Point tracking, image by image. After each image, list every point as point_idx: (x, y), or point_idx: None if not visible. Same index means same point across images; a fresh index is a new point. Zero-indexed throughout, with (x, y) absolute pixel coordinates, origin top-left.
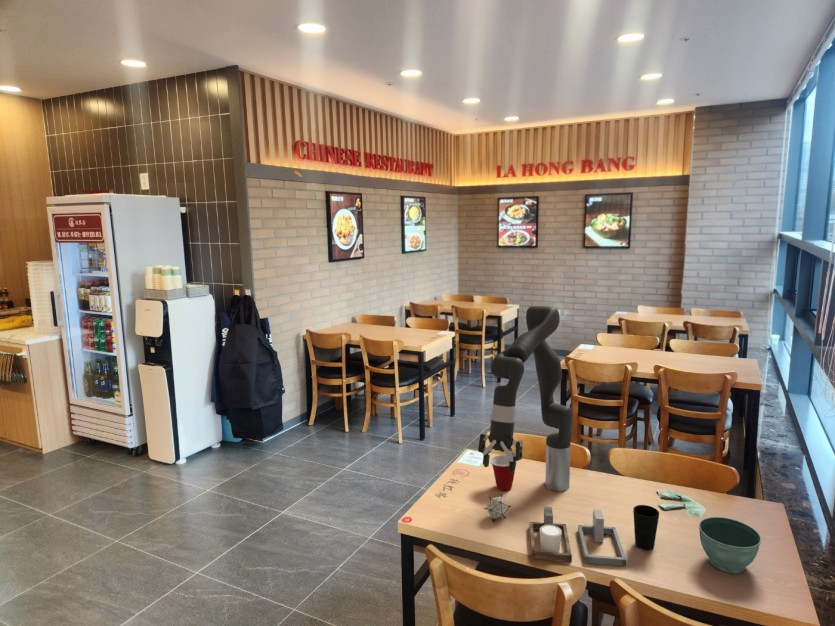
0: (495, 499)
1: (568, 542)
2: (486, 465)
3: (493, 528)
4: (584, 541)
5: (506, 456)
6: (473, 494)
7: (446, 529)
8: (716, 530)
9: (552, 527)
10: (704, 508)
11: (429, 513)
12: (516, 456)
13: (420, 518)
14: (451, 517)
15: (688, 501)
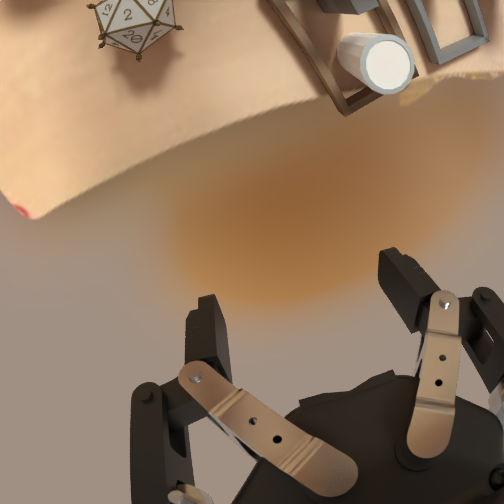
0: (125, 24)
1: (398, 27)
2: (225, 326)
3: (173, 65)
4: (423, 7)
5: None
6: (2, 4)
7: (93, 169)
8: None
9: (387, 46)
10: None
11: (14, 162)
12: (472, 350)
13: (25, 190)
14: (54, 125)
15: None
